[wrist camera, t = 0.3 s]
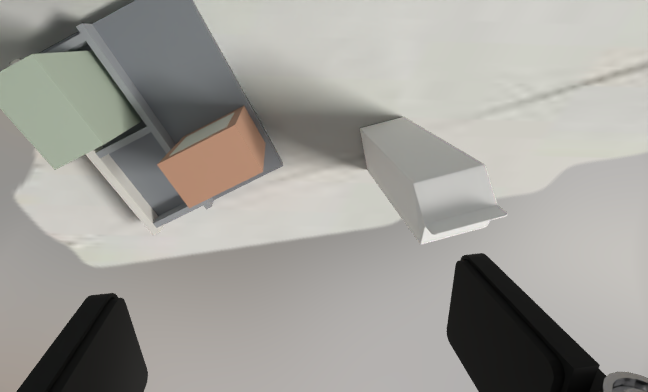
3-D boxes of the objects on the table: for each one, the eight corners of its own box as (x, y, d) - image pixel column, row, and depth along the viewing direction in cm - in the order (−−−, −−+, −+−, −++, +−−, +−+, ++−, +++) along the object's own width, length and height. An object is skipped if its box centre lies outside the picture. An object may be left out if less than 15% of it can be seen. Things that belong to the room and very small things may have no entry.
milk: (359, 127, 44) (427, 198, 24) (404, 115, 44) (510, 176, 24) (367, 171, 47) (434, 267, 27) (410, 159, 47) (509, 247, 27)
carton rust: (243, 104, 40) (234, 124, 31) (265, 143, 42) (263, 171, 33) (182, 136, 40) (156, 164, 31) (207, 172, 42) (189, 208, 33)
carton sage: (51, 73, 36) (-24, 84, 27) (93, 50, 36) (32, 53, 27) (104, 140, 39) (54, 170, 30) (143, 120, 39) (103, 144, 30)
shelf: (30, 61, 37) (7, 64, 33) (181, -21, 35) (171, -27, 32) (159, 222, 46) (151, 236, 43) (282, 162, 45) (283, 171, 41)
